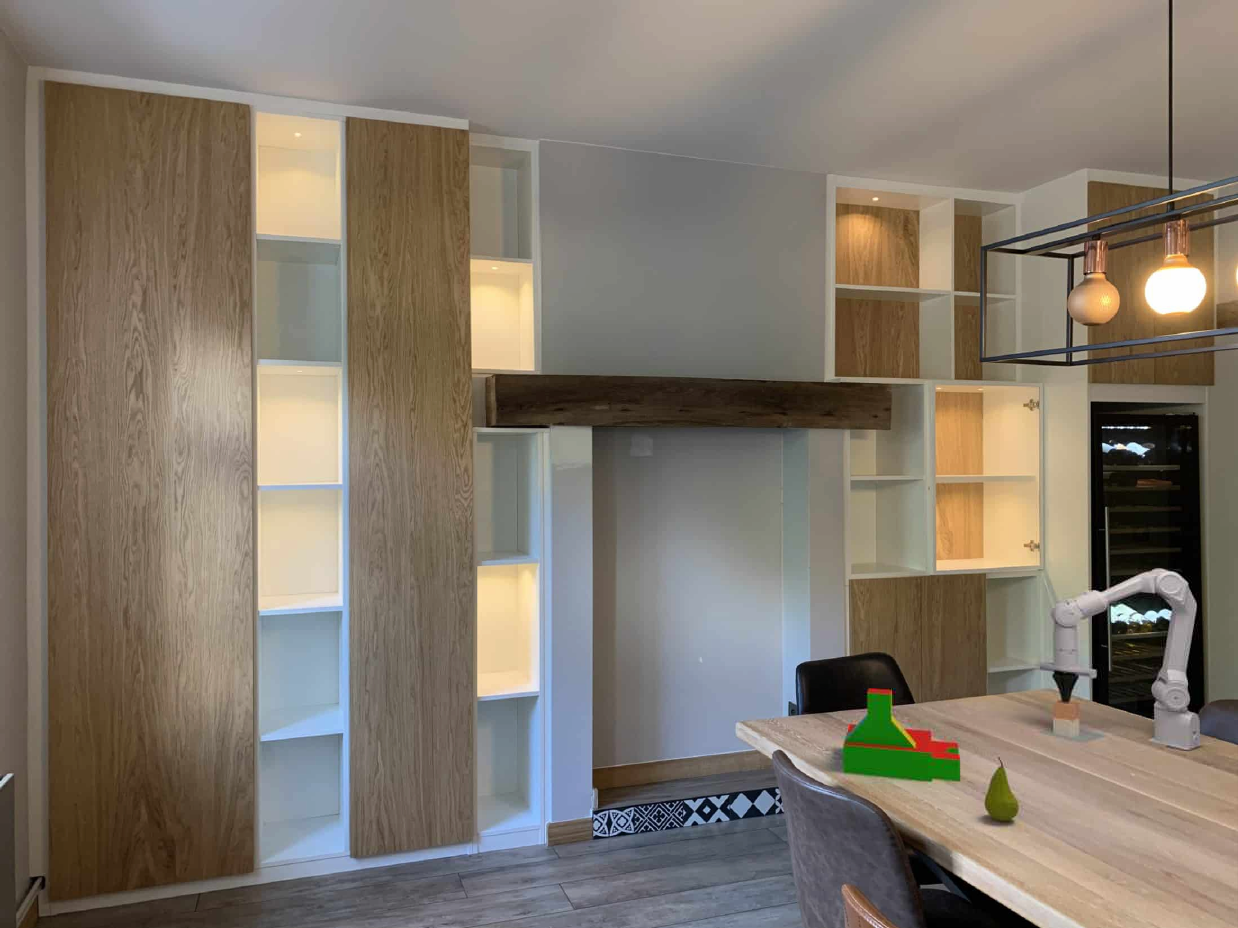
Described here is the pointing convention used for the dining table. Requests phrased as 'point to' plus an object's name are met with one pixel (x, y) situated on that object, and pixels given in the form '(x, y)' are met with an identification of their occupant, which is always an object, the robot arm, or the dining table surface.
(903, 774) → the building blocks toy
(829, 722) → the dining table surface
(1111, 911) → the dining table surface
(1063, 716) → the terracotta block
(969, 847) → the dining table surface
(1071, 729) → the cream block
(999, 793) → the fruit
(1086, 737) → the grey square plate
